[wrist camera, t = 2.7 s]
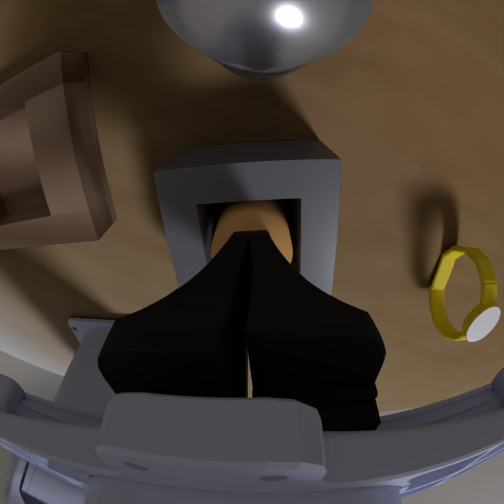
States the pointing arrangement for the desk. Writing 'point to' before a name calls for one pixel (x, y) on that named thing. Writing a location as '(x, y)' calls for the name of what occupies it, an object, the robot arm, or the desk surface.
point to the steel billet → (265, 31)
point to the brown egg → (254, 223)
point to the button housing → (248, 189)
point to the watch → (482, 314)
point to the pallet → (51, 157)
